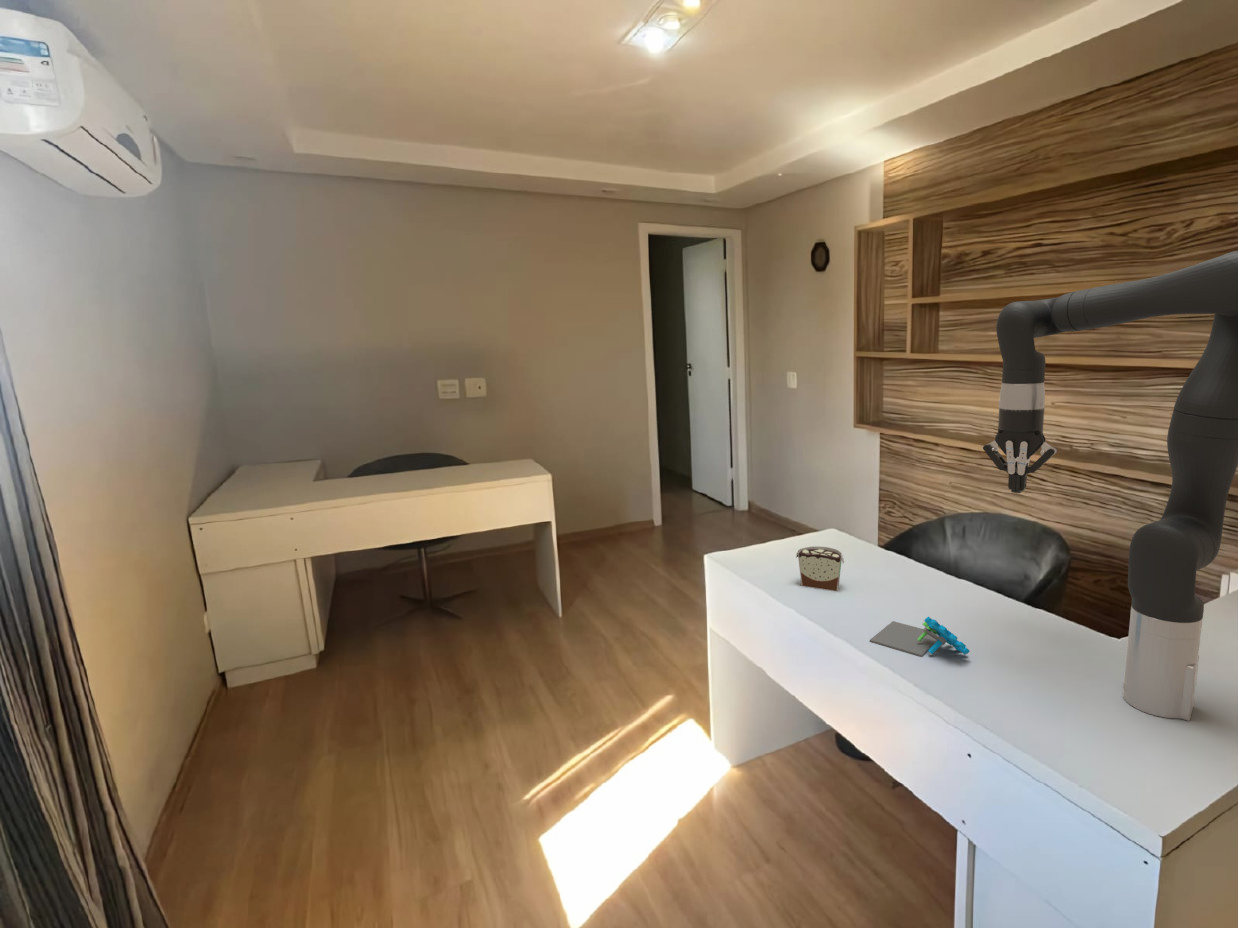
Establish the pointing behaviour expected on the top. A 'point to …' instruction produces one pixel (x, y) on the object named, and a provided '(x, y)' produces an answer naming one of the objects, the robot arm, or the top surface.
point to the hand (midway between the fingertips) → (1016, 492)
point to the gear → (941, 636)
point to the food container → (820, 567)
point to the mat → (904, 638)
